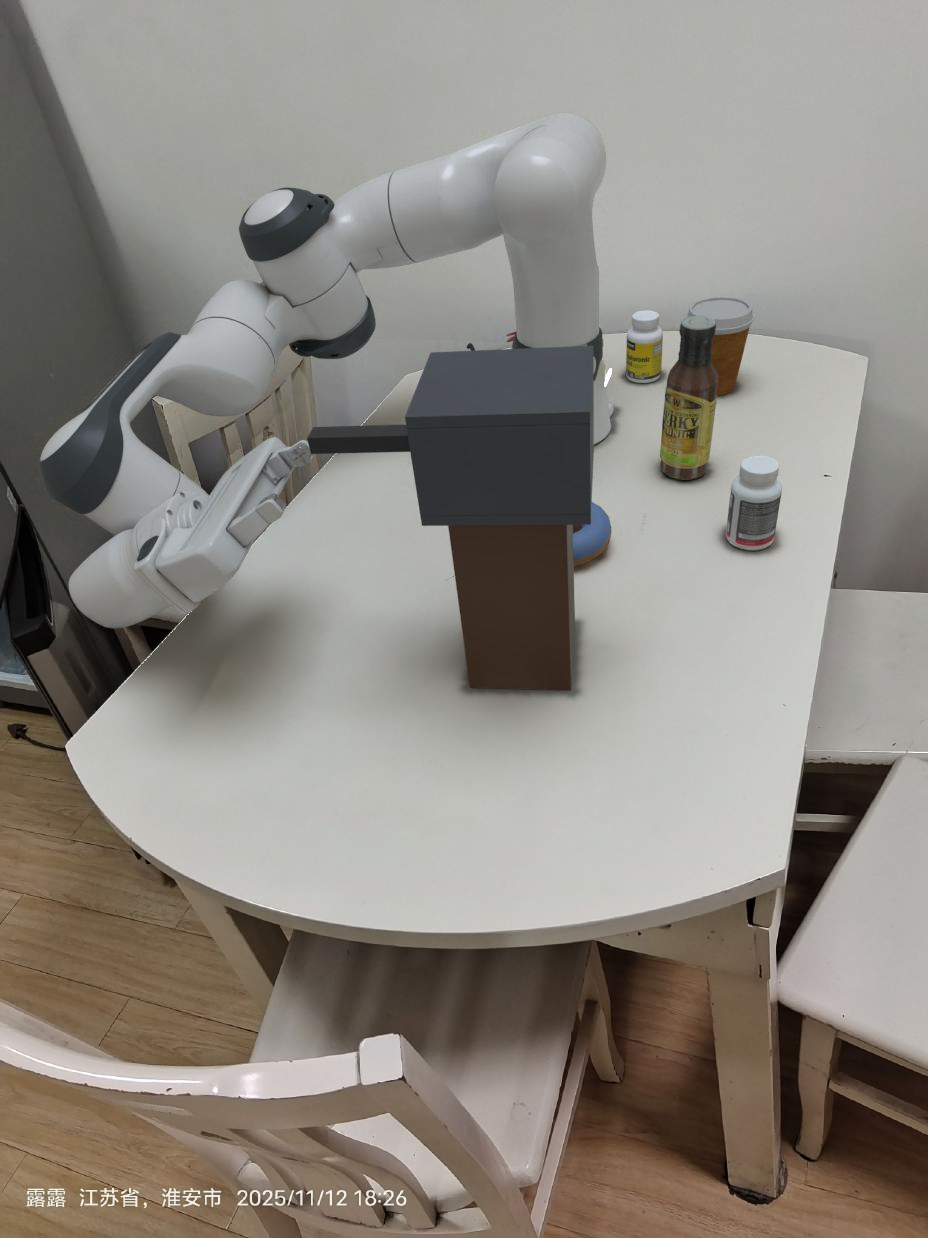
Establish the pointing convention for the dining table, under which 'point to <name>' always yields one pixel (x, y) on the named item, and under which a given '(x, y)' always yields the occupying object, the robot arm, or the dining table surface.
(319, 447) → the tray
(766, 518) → the pill bottle
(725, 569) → the dining table surface
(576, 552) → the doughnut
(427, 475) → the dispenser
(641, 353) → the supplement bottle
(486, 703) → the dining table surface
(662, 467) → the sauce bottle
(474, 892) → the dining table surface
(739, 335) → the disposable coffee cup
